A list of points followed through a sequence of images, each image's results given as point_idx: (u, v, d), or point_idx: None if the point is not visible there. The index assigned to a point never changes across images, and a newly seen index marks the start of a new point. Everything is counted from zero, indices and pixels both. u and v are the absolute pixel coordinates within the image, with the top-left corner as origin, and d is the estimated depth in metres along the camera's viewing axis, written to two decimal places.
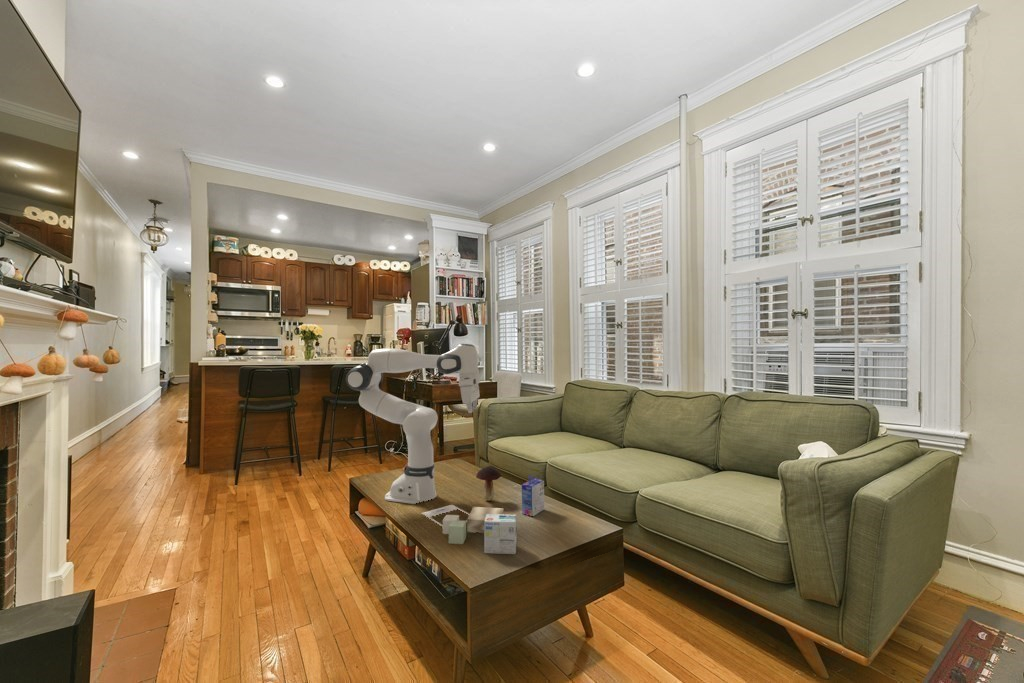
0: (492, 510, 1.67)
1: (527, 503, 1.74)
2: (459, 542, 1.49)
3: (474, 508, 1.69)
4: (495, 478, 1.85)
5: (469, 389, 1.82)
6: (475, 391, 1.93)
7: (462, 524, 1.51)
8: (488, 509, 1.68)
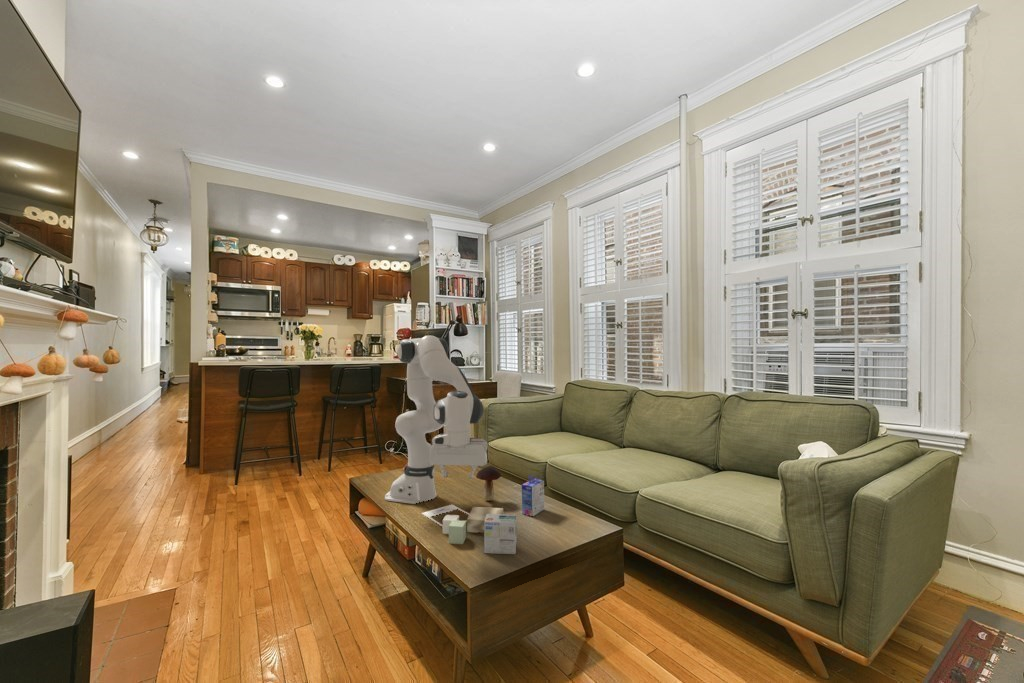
0: (492, 510, 1.67)
1: (527, 503, 1.74)
2: (459, 542, 1.49)
3: (474, 508, 1.69)
4: (495, 478, 1.85)
5: (430, 447, 1.51)
6: (460, 454, 1.50)
7: (462, 524, 1.51)
8: (488, 509, 1.68)
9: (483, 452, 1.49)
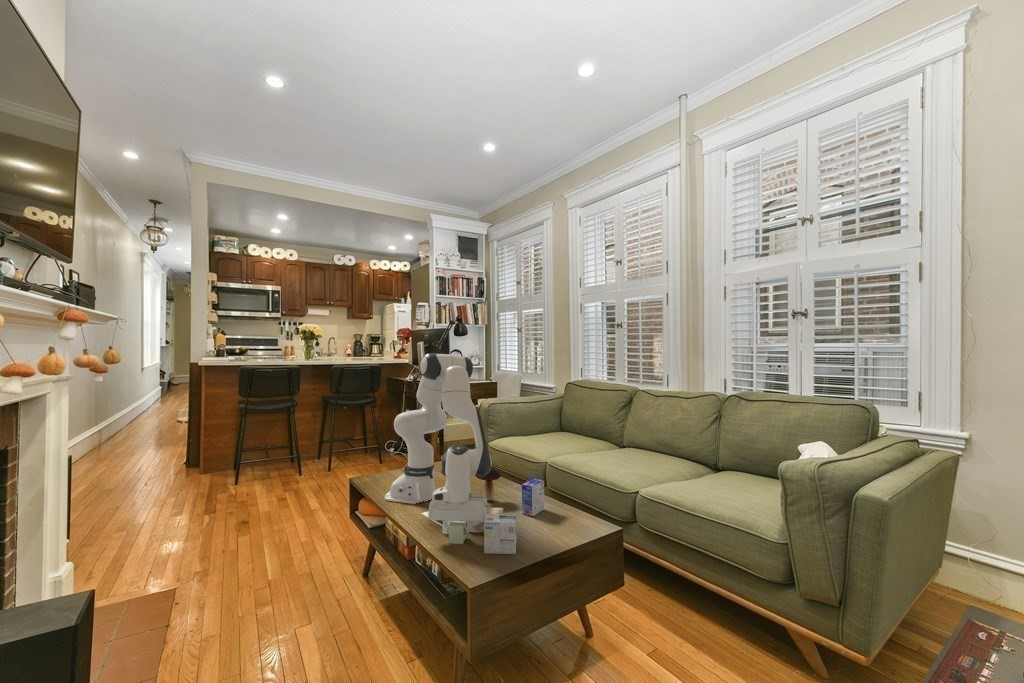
0: (492, 510, 1.67)
1: (527, 503, 1.74)
2: (459, 542, 1.49)
3: None
4: (495, 478, 1.85)
5: (430, 503, 1.51)
6: (460, 510, 1.50)
7: (462, 524, 1.51)
8: (488, 509, 1.68)
9: (482, 508, 1.49)
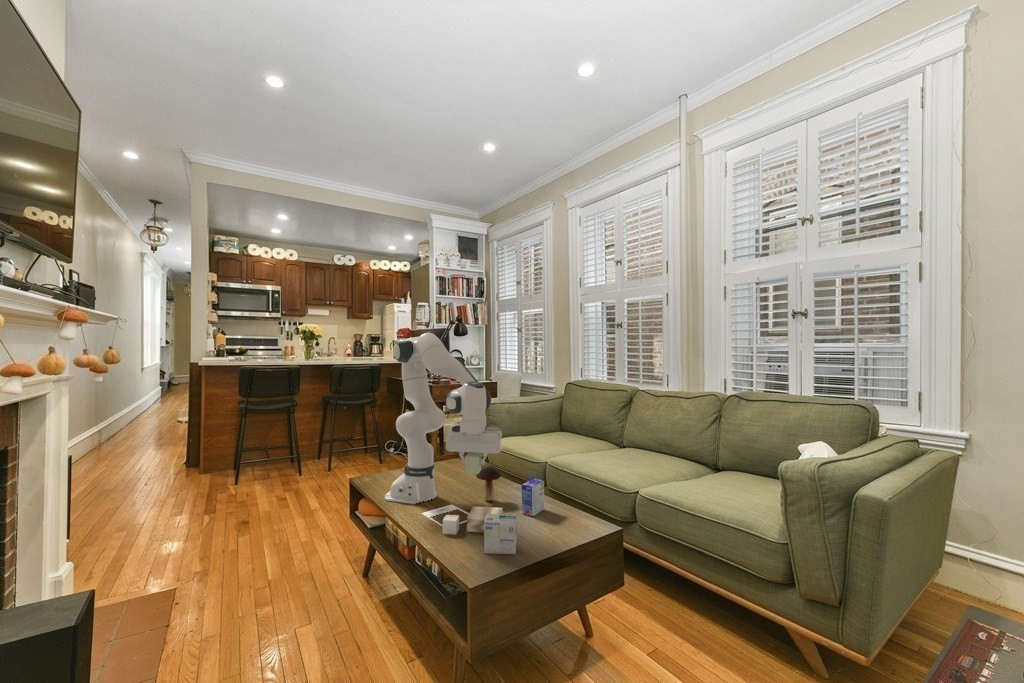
0: (492, 510, 1.67)
1: (527, 503, 1.74)
2: (475, 472, 1.55)
3: (474, 508, 1.69)
4: (495, 478, 1.85)
5: (447, 435, 1.58)
6: (476, 442, 1.56)
7: (478, 455, 1.57)
8: (487, 509, 1.68)
9: (498, 440, 1.55)
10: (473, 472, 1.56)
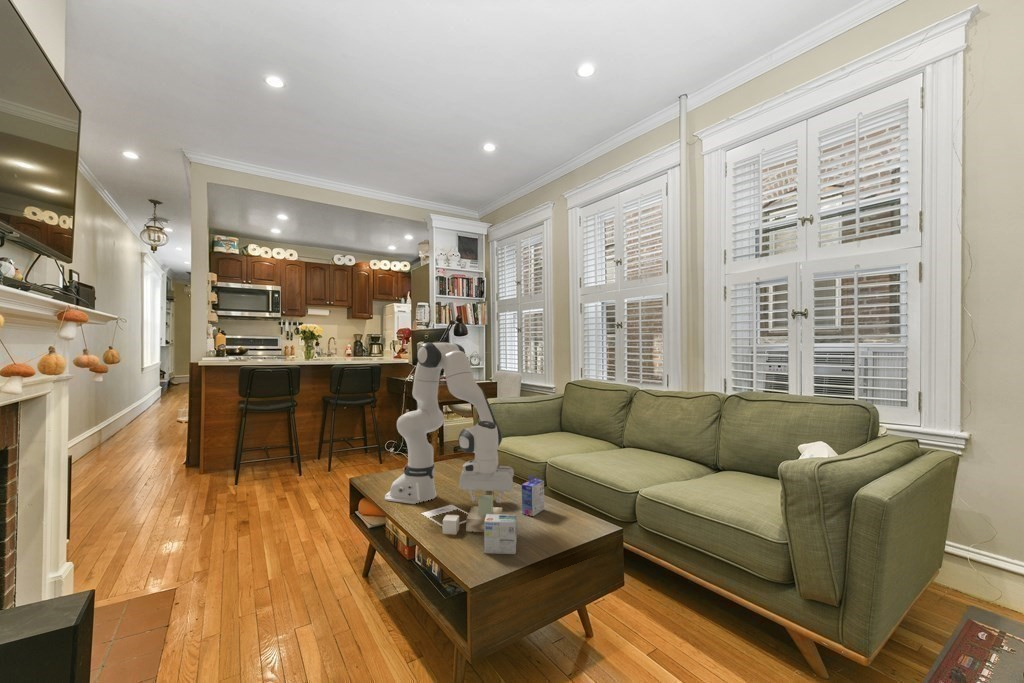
0: None
1: (527, 503, 1.74)
2: None
3: (473, 507, 1.69)
4: None
5: (461, 474, 1.63)
6: (488, 481, 1.62)
7: (490, 498, 1.63)
8: None
9: (510, 479, 1.61)
10: None
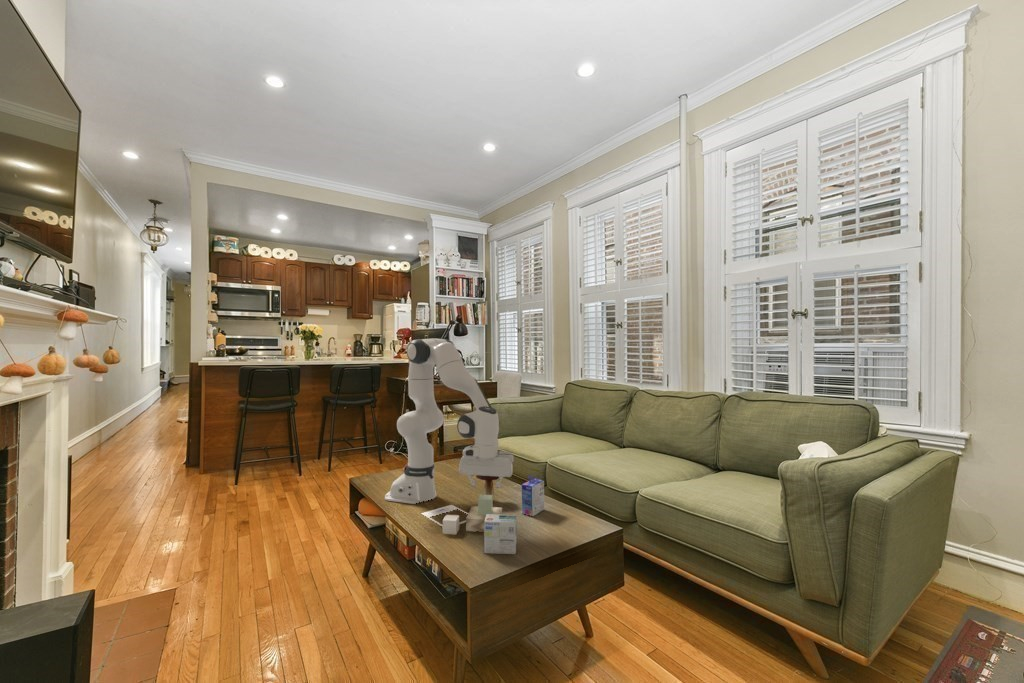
0: None
1: (527, 503, 1.74)
2: None
3: (473, 507, 1.69)
4: (495, 478, 1.85)
5: None
6: (488, 466, 1.62)
7: (490, 498, 1.63)
8: None
9: (509, 464, 1.61)
10: None
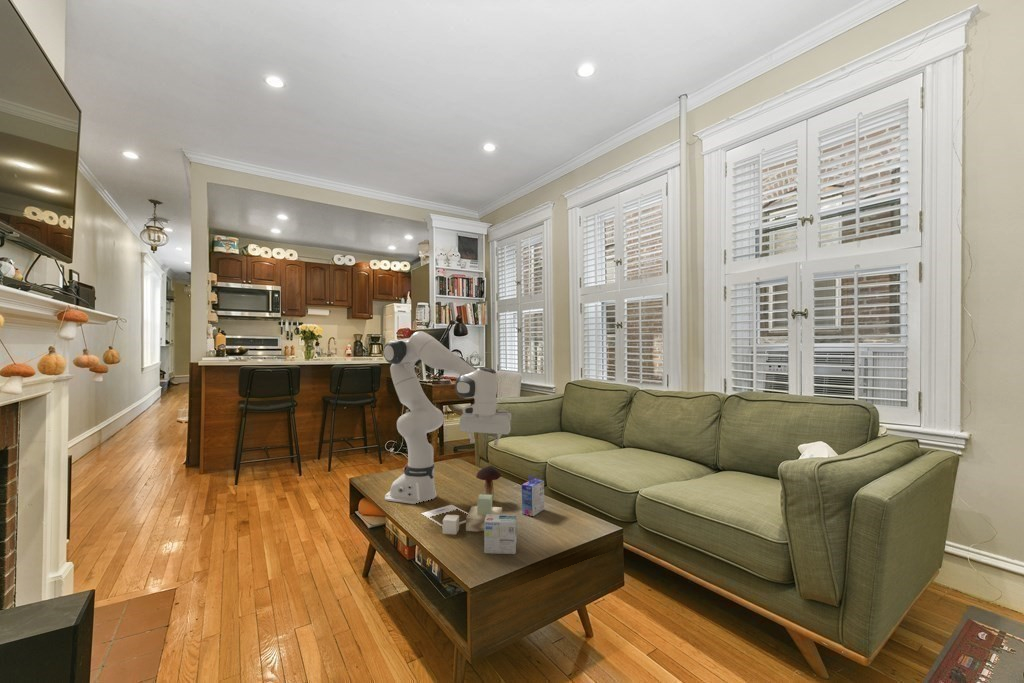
0: None
1: (527, 503, 1.74)
2: (487, 513, 1.62)
3: (473, 507, 1.70)
4: (495, 478, 1.85)
5: None
6: (487, 423, 1.68)
7: (489, 497, 1.64)
8: None
9: (507, 422, 1.68)
10: (485, 514, 1.62)
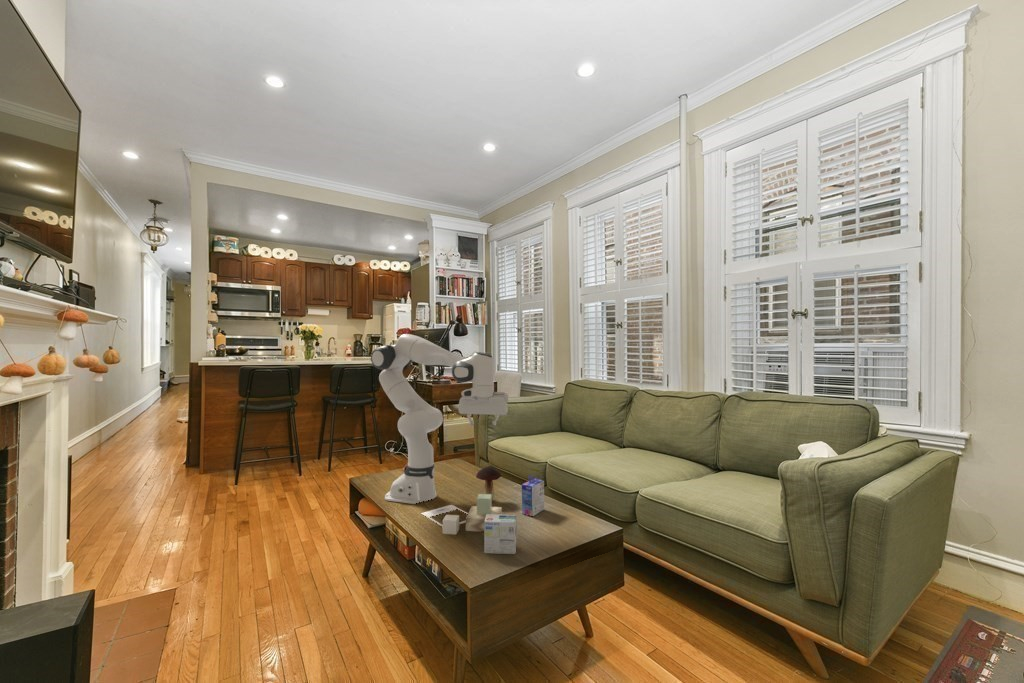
0: (491, 509, 1.68)
1: (527, 503, 1.74)
2: (486, 513, 1.62)
3: (473, 507, 1.70)
4: (495, 478, 1.85)
5: (460, 399, 1.78)
6: (485, 405, 1.77)
7: (489, 497, 1.64)
8: None
9: (504, 403, 1.76)
10: (485, 513, 1.62)
